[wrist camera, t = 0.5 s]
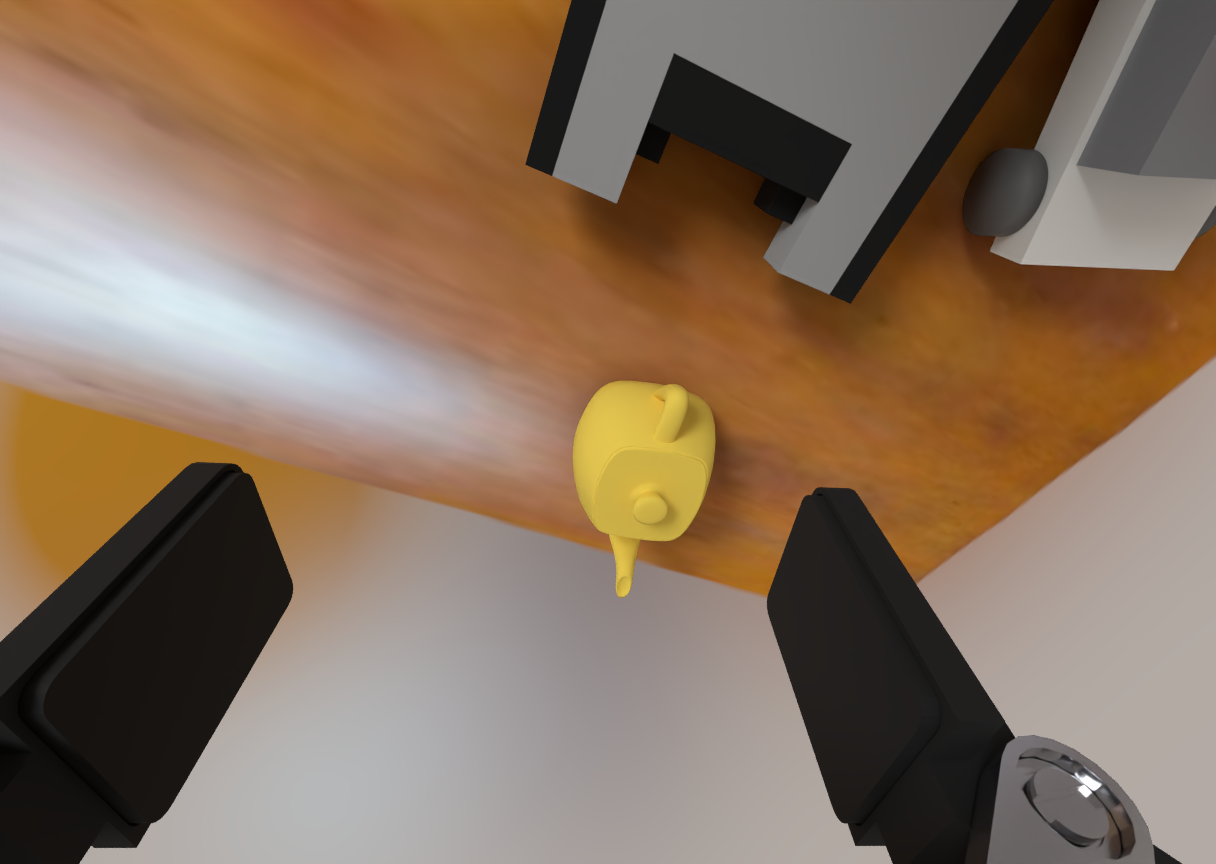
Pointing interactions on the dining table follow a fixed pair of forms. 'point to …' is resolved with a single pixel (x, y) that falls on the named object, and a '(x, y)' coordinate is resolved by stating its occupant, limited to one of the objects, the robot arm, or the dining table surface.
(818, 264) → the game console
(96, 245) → the dining table surface
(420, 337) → the dining table surface
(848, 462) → the dining table surface
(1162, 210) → the ramp trolley
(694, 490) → the teapot
